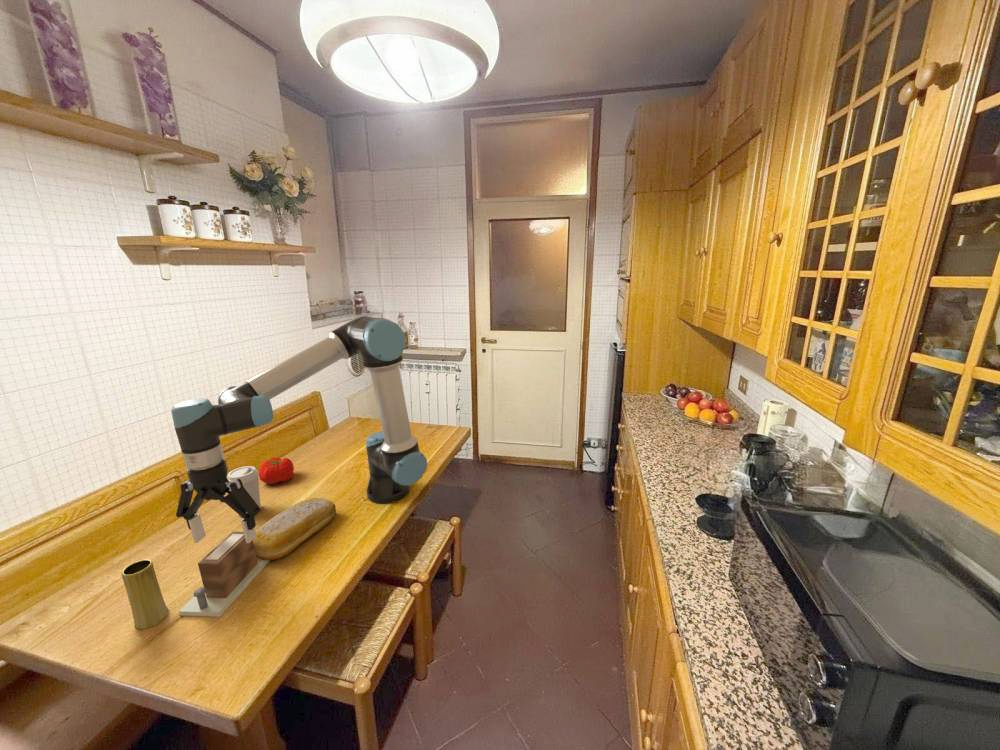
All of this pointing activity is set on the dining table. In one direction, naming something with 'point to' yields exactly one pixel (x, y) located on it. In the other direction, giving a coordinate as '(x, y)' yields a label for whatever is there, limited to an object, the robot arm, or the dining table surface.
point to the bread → (292, 527)
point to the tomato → (276, 470)
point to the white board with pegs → (218, 605)
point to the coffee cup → (247, 481)
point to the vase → (144, 594)
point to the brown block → (227, 565)
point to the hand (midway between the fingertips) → (225, 539)
